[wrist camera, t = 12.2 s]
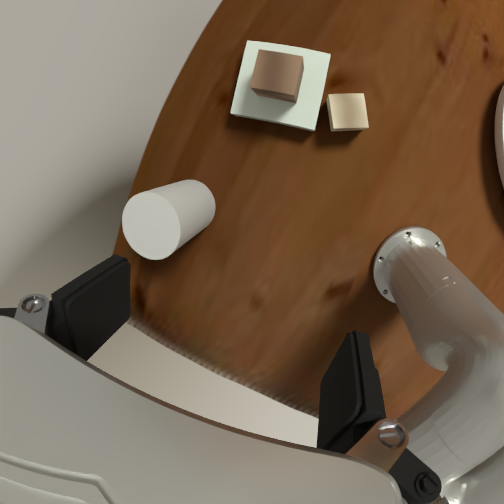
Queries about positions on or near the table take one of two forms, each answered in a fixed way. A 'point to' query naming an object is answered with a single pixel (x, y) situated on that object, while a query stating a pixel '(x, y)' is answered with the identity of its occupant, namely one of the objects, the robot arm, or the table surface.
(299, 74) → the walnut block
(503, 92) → the bowl
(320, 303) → the table surface
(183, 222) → the white cylinder
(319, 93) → the plate
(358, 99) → the birch block
